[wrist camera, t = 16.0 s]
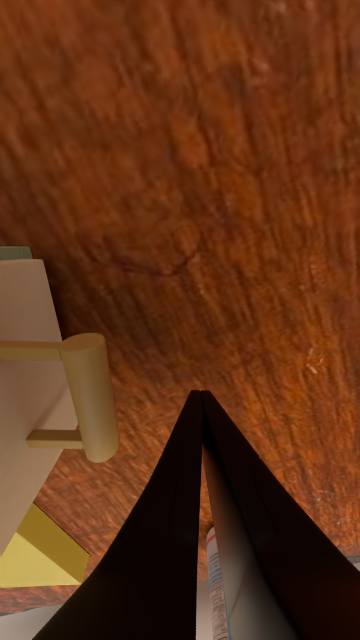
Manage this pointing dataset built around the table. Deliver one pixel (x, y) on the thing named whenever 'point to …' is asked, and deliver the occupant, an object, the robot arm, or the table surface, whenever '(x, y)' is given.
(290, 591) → the robot arm
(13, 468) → the drawer
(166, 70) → the table surface
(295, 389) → the table surface
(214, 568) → the pill bottle
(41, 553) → the flat olive board
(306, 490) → the table surface
